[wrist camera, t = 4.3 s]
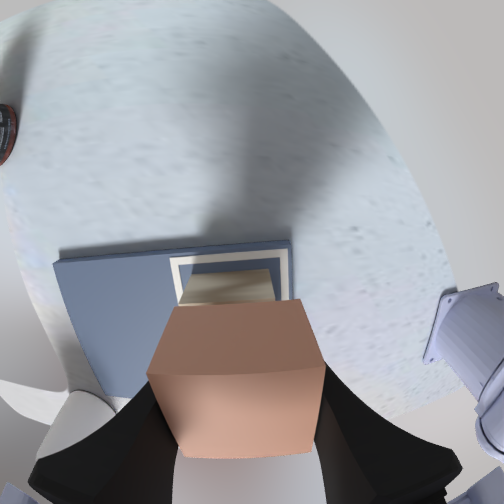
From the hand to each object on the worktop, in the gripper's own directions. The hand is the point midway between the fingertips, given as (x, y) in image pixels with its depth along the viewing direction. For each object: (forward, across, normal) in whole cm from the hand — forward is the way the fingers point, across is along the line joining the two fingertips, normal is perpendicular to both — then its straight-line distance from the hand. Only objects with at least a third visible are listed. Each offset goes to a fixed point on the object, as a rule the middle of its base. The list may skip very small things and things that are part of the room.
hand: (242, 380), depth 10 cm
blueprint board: (+9, +6, +4) cm, 12 cm away
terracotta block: (+1, 0, 0) cm, 1 cm away
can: (+10, +19, +15) cm, 26 cm away
